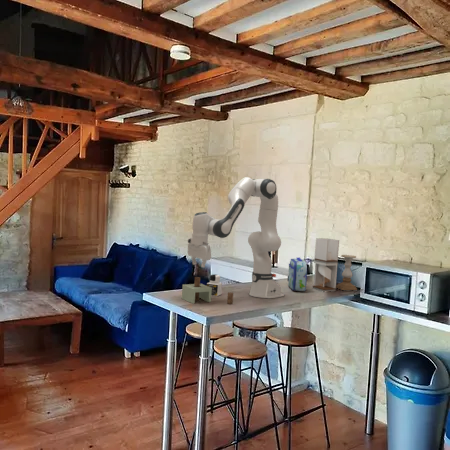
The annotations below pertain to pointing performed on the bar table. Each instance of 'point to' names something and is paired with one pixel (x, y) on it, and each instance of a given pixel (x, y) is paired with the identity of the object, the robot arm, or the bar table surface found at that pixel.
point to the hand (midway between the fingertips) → (198, 265)
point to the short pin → (230, 298)
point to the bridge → (190, 290)
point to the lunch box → (297, 274)
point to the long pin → (197, 284)
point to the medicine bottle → (215, 285)
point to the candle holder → (347, 275)
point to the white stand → (326, 264)
